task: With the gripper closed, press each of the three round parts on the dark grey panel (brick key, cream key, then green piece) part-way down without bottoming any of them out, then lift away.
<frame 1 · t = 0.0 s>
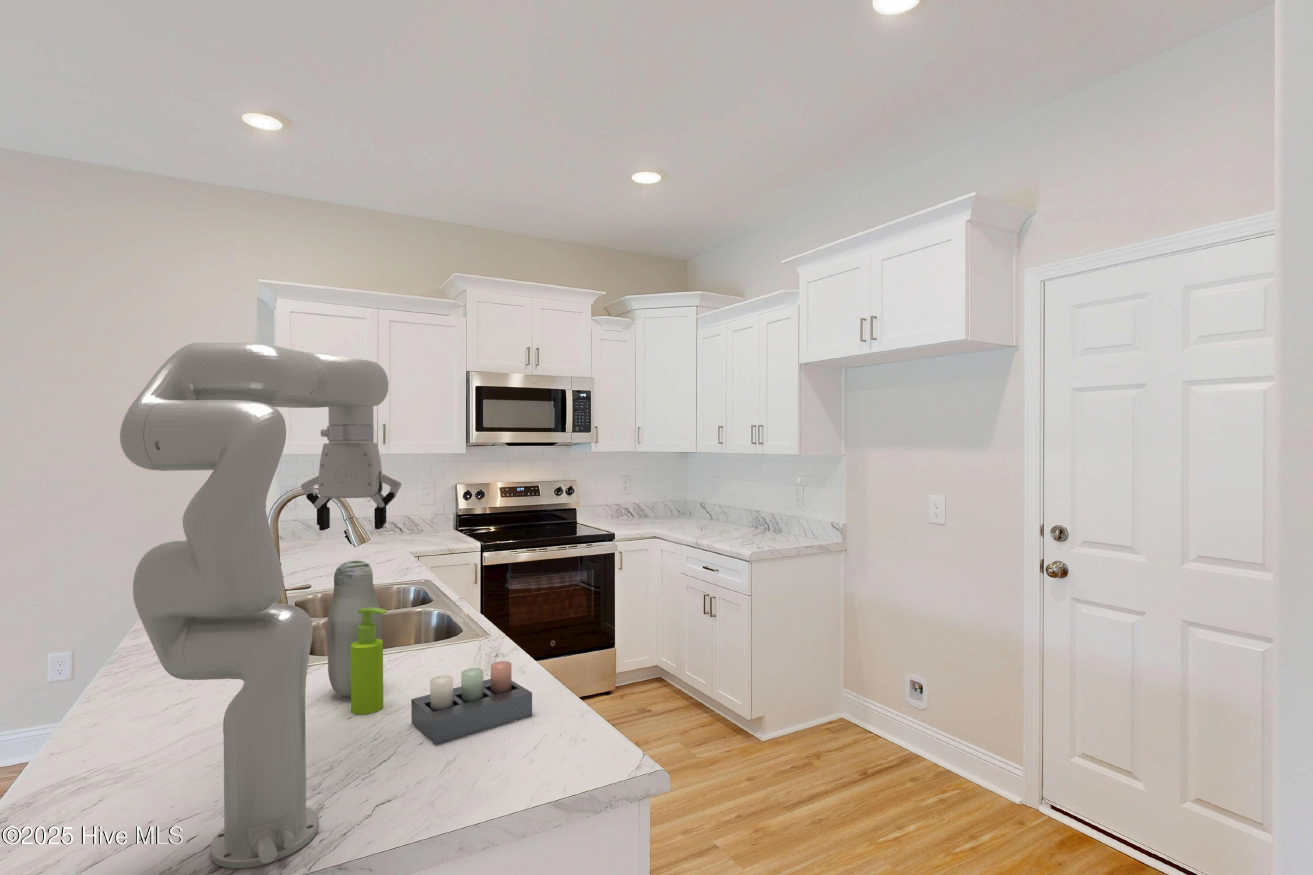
hand: (352, 528, 122), 37 cm above the counter, tool pointing down, fingers open, 9 cm apart
cream key: (441, 692, 124), point 7 cm above the counter, slide at 0.0 cm
brick key: (501, 677, 131), point 7 cm above the counter, slide at 0.0 cm
green piece: (472, 684, 127), point 7 cm above the counter, slide at 0.0 cm
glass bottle: (355, 694, 140), on the counter
panel: (472, 719, 127), on the counter
soap dispenser: (369, 709, 133), on the counter
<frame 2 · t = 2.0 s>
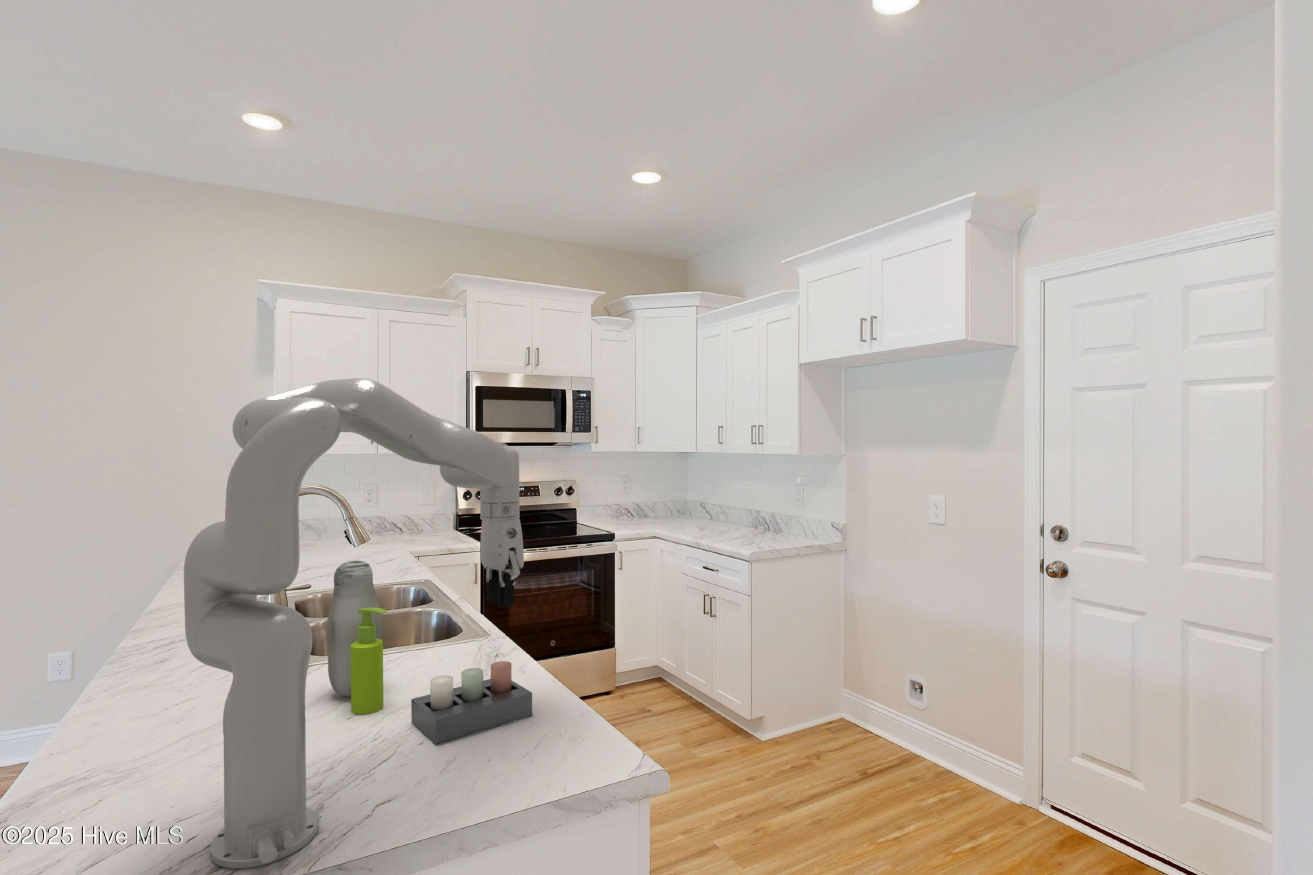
hand: (500, 602, 131), 21 cm above the counter, tool pointing down, fingers open, 3 cm apart
nothing on the counter moved.
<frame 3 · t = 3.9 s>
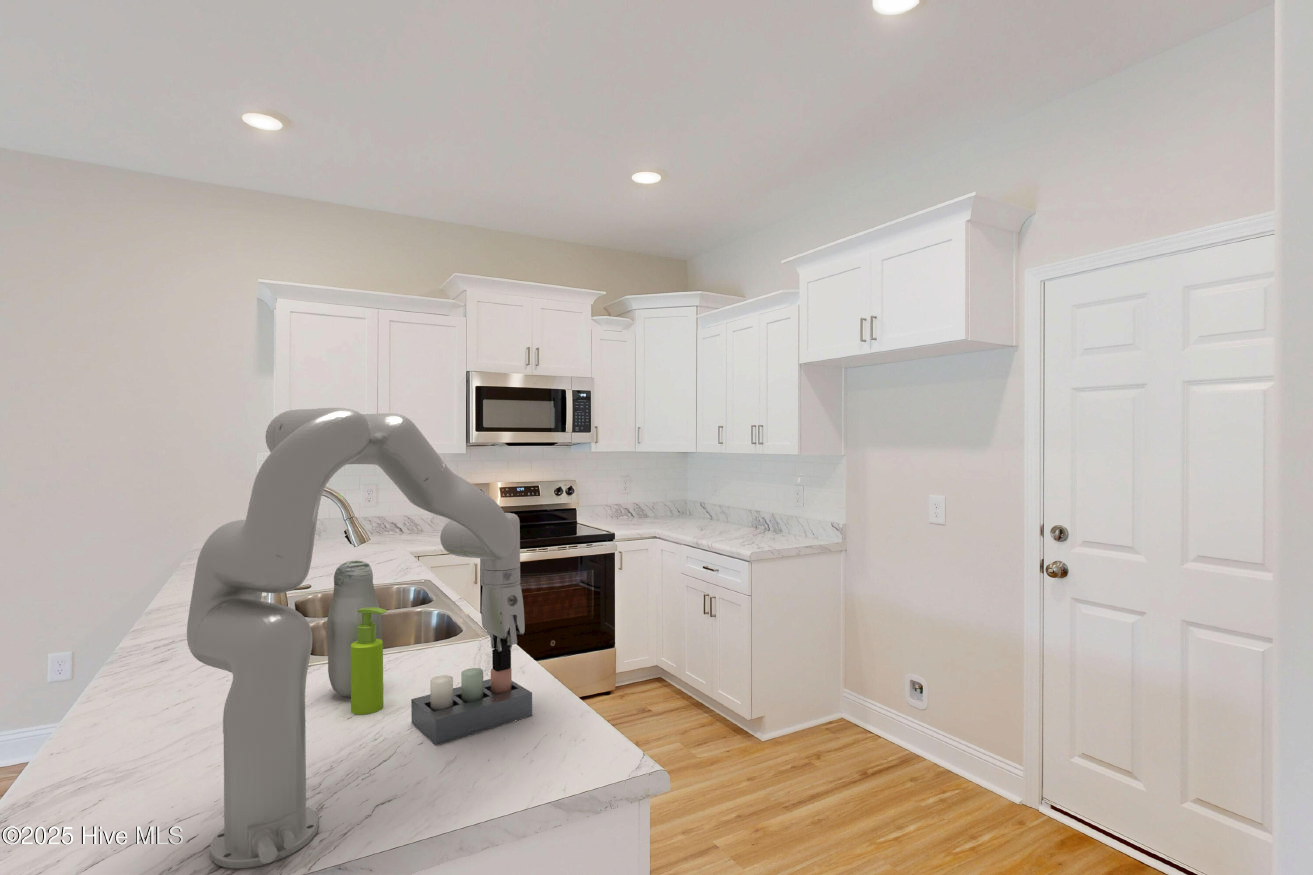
hand: (501, 668, 131), 8 cm above the counter, tool pointing down, fingers closed
brick key: (501, 681, 131), point 6 cm above the counter, slide at 0.9 cm, touching gripper
everything else where it was.
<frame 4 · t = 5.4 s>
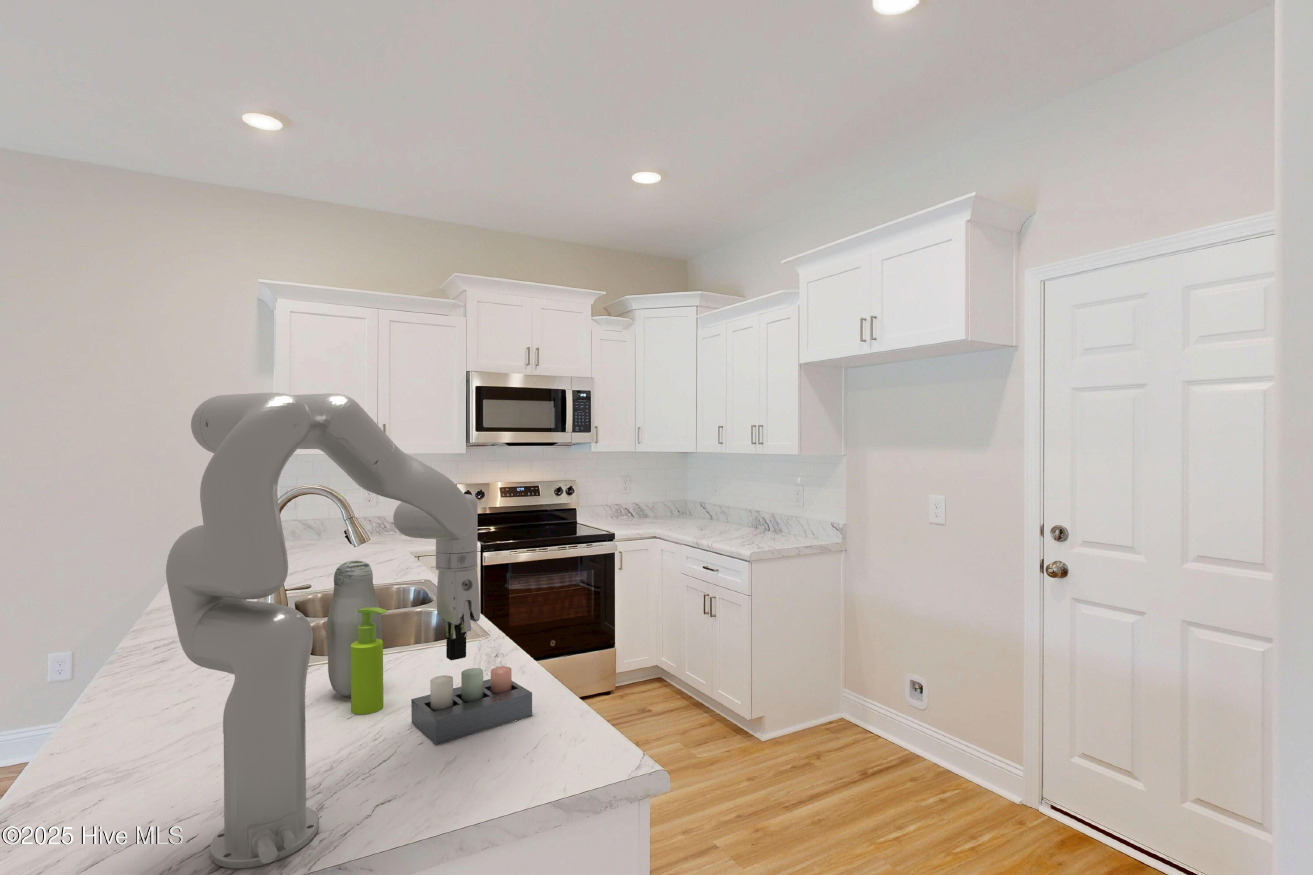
hand: (456, 657, 125), 13 cm above the counter, tool pointing down, fingers closed
brick key: (501, 682, 131), point 6 cm above the counter, slide at 1.0 cm
everything else where it was.
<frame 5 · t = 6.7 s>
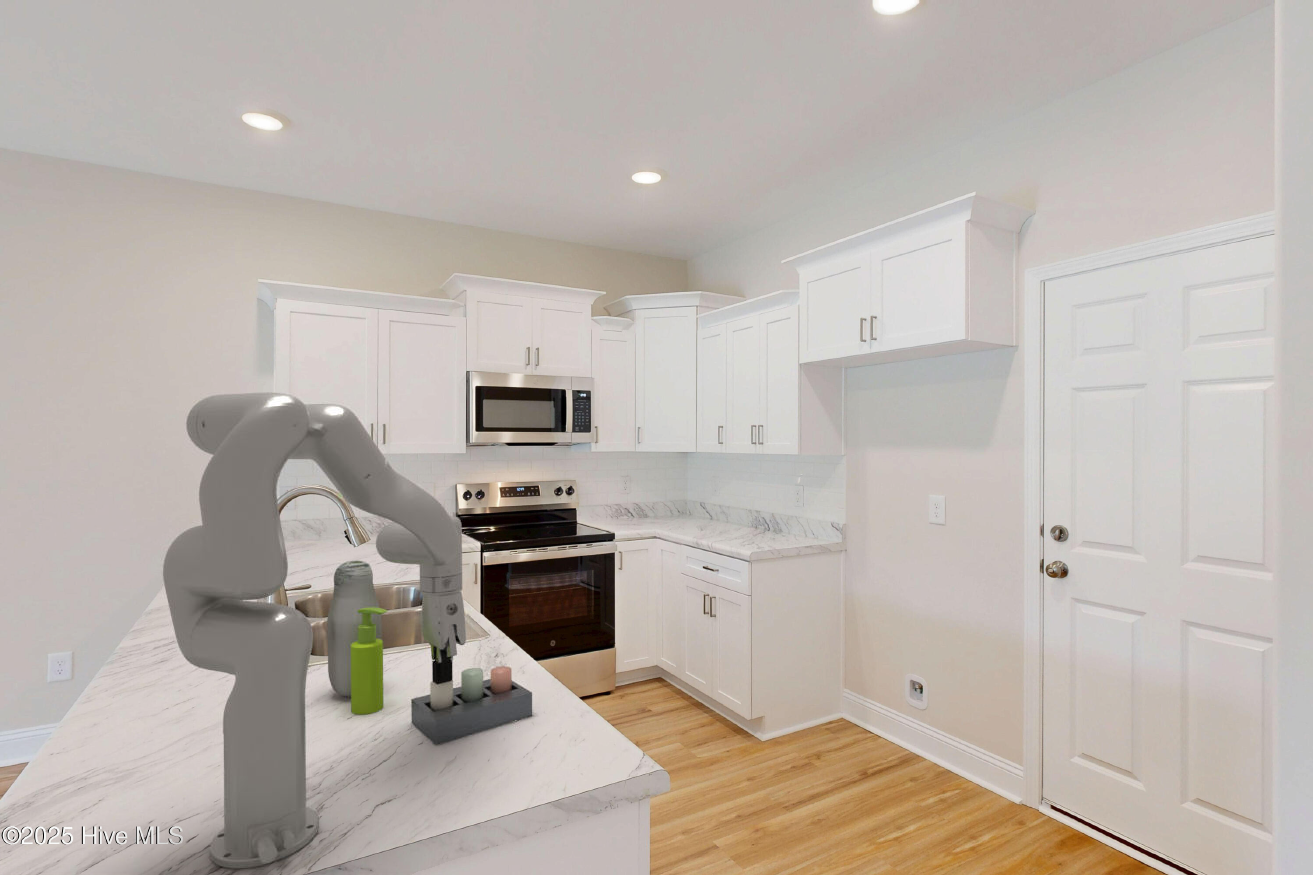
hand: (442, 681, 124), 9 cm above the counter, tool pointing down, fingers closed
cream key: (441, 695, 124), point 6 cm above the counter, slide at 0.5 cm, touching gripper
everything else where it was.
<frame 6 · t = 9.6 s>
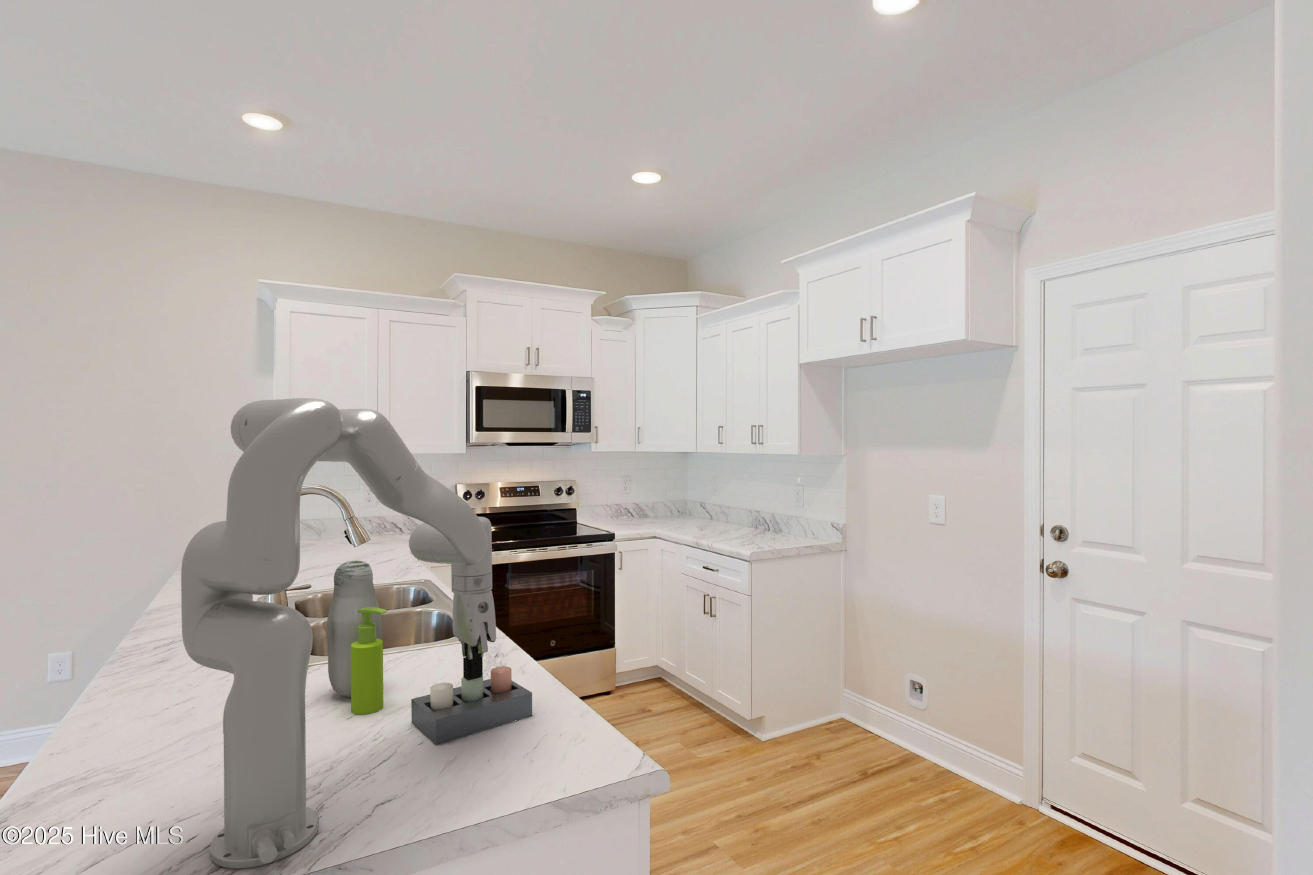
hand: (473, 677, 128), 8 cm above the counter, tool pointing down, fingers closed
cream key: (441, 700, 124), point 5 cm above the counter, slide at 1.4 cm
green piece: (472, 691, 127), point 5 cm above the counter, slide at 1.2 cm, touching gripper
everything else where it was.
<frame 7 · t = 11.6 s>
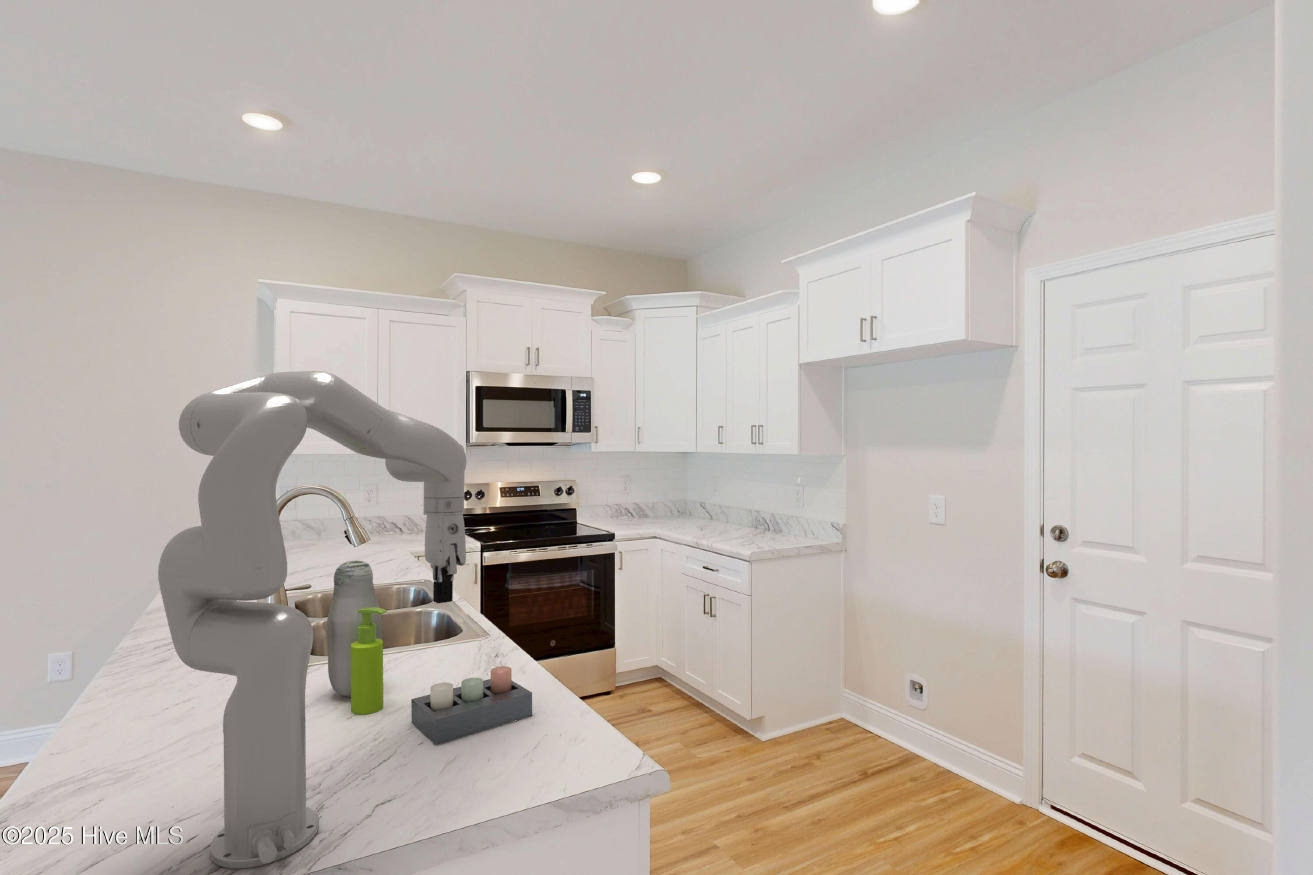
hand: (442, 601, 129), 22 cm above the counter, tool pointing down, fingers closed
green piece: (472, 694, 127), point 5 cm above the counter, slide at 1.9 cm
everything else where it was.
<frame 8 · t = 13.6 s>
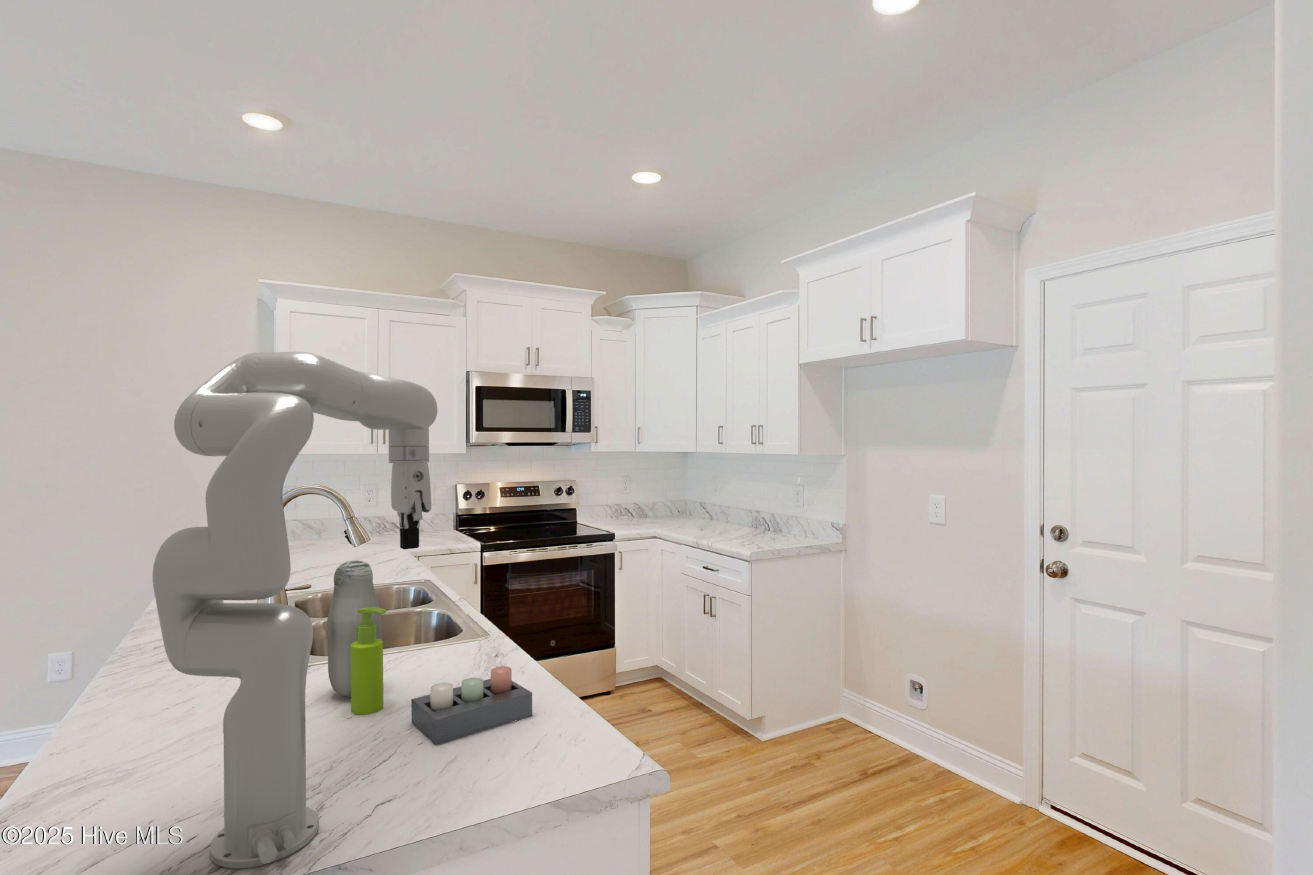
hand: (409, 548, 132), 32 cm above the counter, tool pointing down, fingers closed
nothing on the counter moved.
at the end: brick key slide at 1.0 cm; cream key slide at 1.4 cm; green piece slide at 1.9 cm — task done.
